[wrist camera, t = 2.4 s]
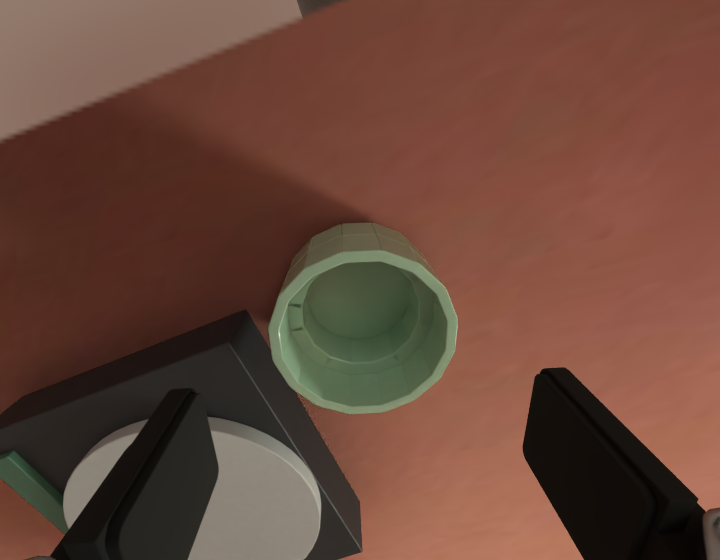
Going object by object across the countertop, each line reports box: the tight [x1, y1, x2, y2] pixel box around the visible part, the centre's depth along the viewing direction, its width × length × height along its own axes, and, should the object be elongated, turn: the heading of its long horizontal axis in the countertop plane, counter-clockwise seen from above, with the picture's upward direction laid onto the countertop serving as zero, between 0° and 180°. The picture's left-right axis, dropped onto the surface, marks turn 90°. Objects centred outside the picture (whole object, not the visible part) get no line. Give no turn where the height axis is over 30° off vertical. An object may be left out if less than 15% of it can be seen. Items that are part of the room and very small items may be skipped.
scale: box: [0, 310, 362, 560], centre depth 19 cm, size 15×13×4 cm
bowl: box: [268, 222, 458, 414], centre depth 15 cm, size 7×7×5 cm
